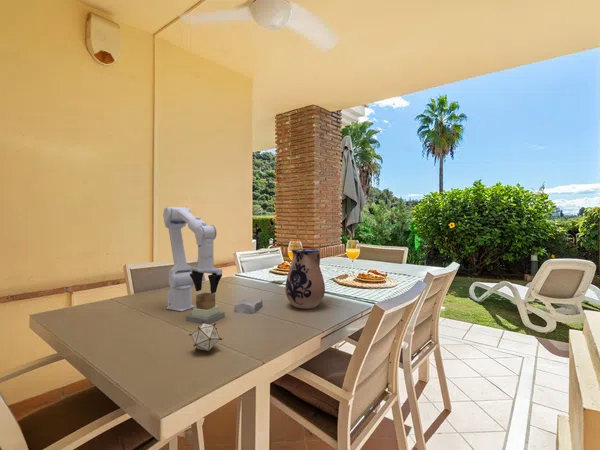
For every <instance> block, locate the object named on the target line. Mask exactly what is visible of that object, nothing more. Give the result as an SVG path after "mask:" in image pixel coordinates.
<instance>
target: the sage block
mask: <svg viewBox="0 0 600 450" xmlns="http://www.w3.org/2000/svg"><path fill="white" fill-rule="evenodd" d="M191 309H192V311H191V314H192V316H199V317H206V318H208V317H210V316H212V315H215V314H217V313H219V311H220V306H219V305H215V307H213V308H210V309H208V310H204V309H197V308H196V307H193V308H191Z"/></svg>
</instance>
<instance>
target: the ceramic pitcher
mask: <svg viewBox="0 0 600 450" xmlns="http://www.w3.org/2000/svg"><path fill="white" fill-rule="evenodd" d="M320 251H321V250H320V249H318V248H296V249H291V253H292V260H291V263H290V266H289V269H288V273H287V277H286V280H285V289H284V290H285V295H286V297H287V299H288V301H289V303H290V304H291V305H292V306H294V307H295V308H297V309H298V308H299V309H301V310H302V309H303V310H305V309H307V310H308V309H314V308H316V307H317V306H318V305H319V304H321V302H322V300H323V298H324V297H325V293H326V286H325V281H324V280H325V279H324V276H323V274H322V270H321V267H320V265H321V254H320Z"/></svg>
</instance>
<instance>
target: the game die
mask: <svg viewBox="0 0 600 450" xmlns="http://www.w3.org/2000/svg"><path fill="white" fill-rule="evenodd" d="M216 325H217V323H216V322H214V324H211V323H210V324H205V323H204V321H202V324H199V326H197V328H196V329H195V330H194V331H193V332H192V333H188V335H189V336H191V339H192V340H193V342H194V344H193V346H192V347H194V351H197V350H201V351H207V354H208V355H209V354H210V351H211V349H212V348H213V347H214V346H215V345H216V344H217V343H218V342H219V341H222V340H223V338H221V337H220V336H219V335H220V334H219V332H218V331H217V329H218V328H217V327H216Z"/></svg>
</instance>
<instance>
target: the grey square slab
mask: <svg viewBox="0 0 600 450" xmlns="http://www.w3.org/2000/svg"><path fill="white" fill-rule="evenodd" d="M225 315H226V312H224V311H220V310H219V313H217V314H215V315H212V316H210V317H208V318H206V317H199V316H192V313H190V314H188V315H186V317H185V318H186V319H185V321H186V322H189V323H194V324H199V325H201V324H202V321H204V323H205V324H210V325H211V323H215V322H216V321H219V320H221V319H224V318H225Z"/></svg>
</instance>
